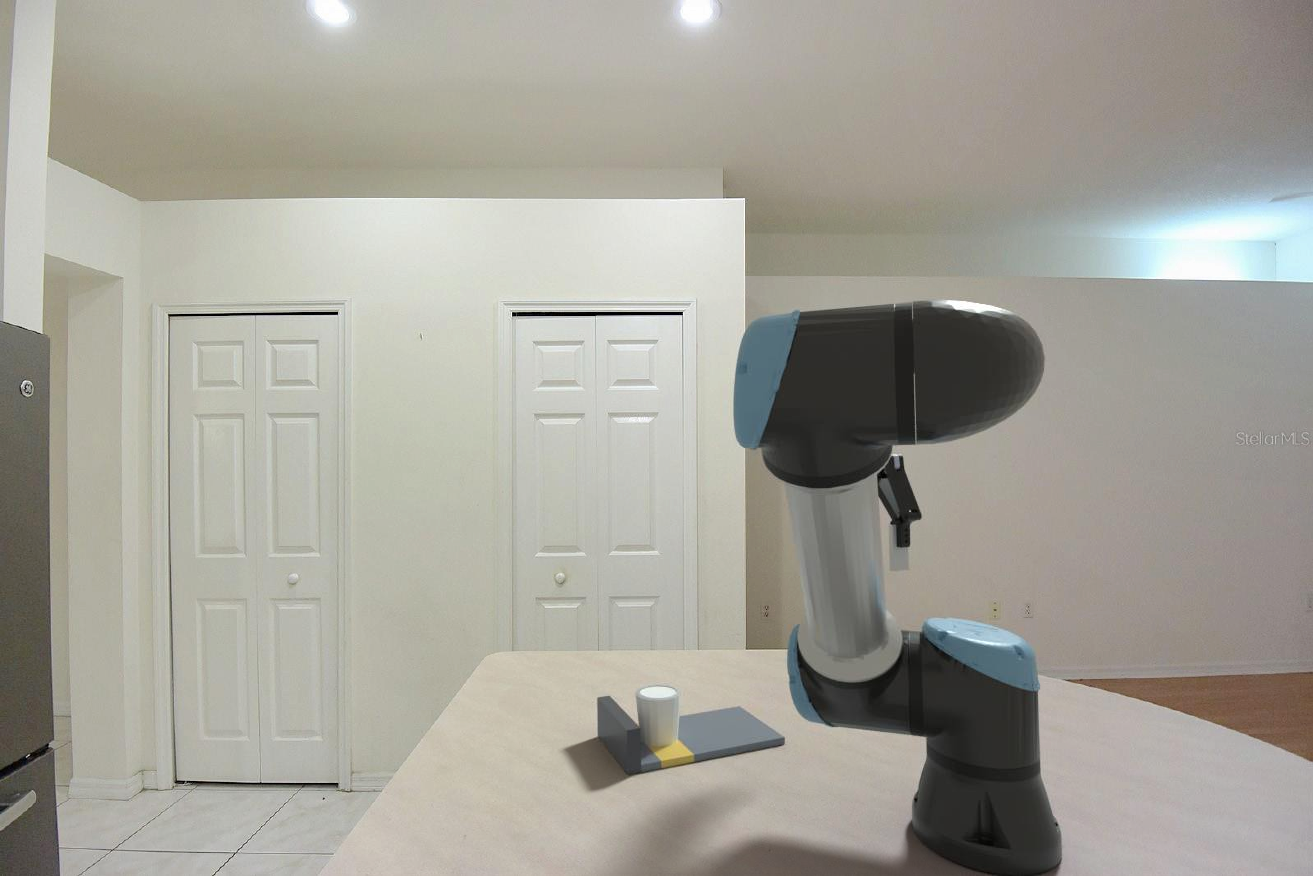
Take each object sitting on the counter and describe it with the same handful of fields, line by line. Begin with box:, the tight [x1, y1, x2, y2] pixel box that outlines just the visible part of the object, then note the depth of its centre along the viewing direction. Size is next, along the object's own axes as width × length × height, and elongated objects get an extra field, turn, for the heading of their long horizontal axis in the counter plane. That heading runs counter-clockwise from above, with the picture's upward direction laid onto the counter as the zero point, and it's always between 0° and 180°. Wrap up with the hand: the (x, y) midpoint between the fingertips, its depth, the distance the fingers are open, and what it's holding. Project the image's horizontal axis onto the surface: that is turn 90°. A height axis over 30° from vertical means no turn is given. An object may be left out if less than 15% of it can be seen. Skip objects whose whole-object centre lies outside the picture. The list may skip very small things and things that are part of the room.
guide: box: [596, 695, 786, 775], centre depth 103 cm, size 14×25×6 cm, turn 112°
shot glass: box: [635, 684, 682, 747], centre depth 102 cm, size 7×7×7 cm
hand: (867, 564), depth 102 cm, fingers open, 13 cm apart
